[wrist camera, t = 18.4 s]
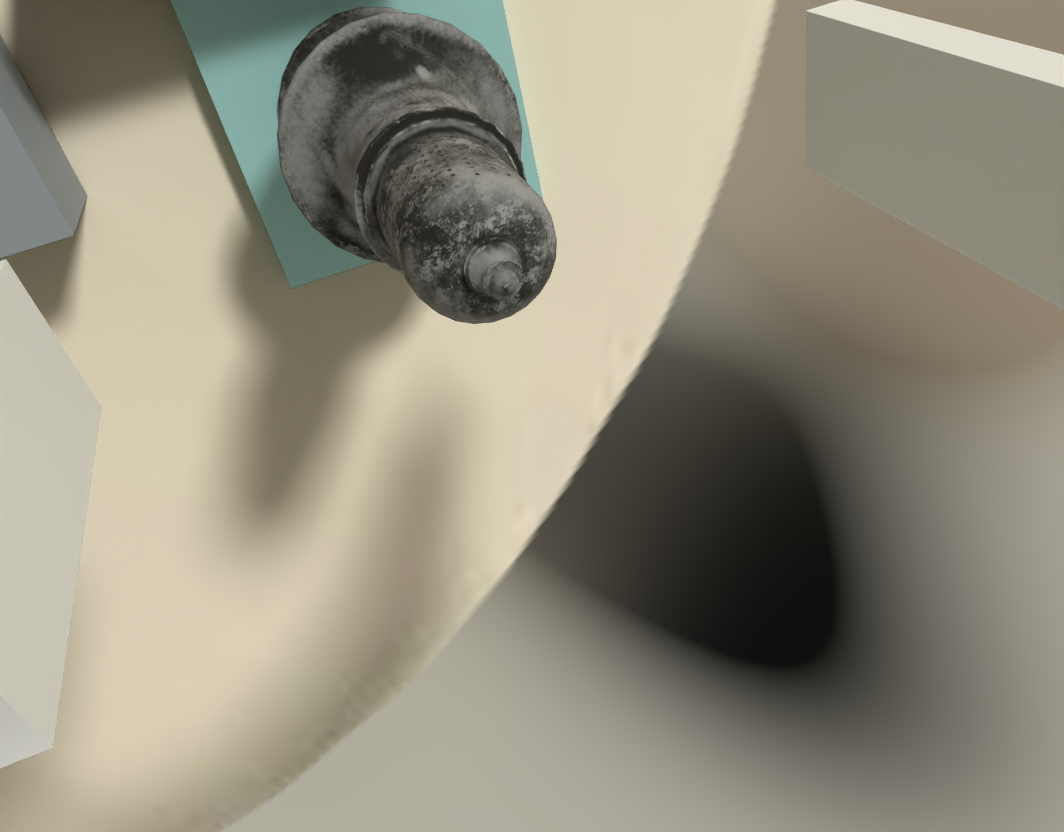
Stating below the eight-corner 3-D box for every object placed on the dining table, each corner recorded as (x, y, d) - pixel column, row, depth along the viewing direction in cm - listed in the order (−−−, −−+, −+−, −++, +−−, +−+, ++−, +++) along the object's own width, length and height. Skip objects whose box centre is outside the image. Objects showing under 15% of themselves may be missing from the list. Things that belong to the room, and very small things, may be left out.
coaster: (168, -8, 21) (168, -6, 20) (477, -92, 22) (483, -91, 21) (289, 280, 25) (291, 288, 25) (537, 199, 26) (544, 205, 26)
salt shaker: (404, 255, 25) (530, 491, 16) (222, 138, 22) (244, 347, 13) (524, 89, 24) (742, 240, 14) (349, -62, 21) (483, 4, 11)
